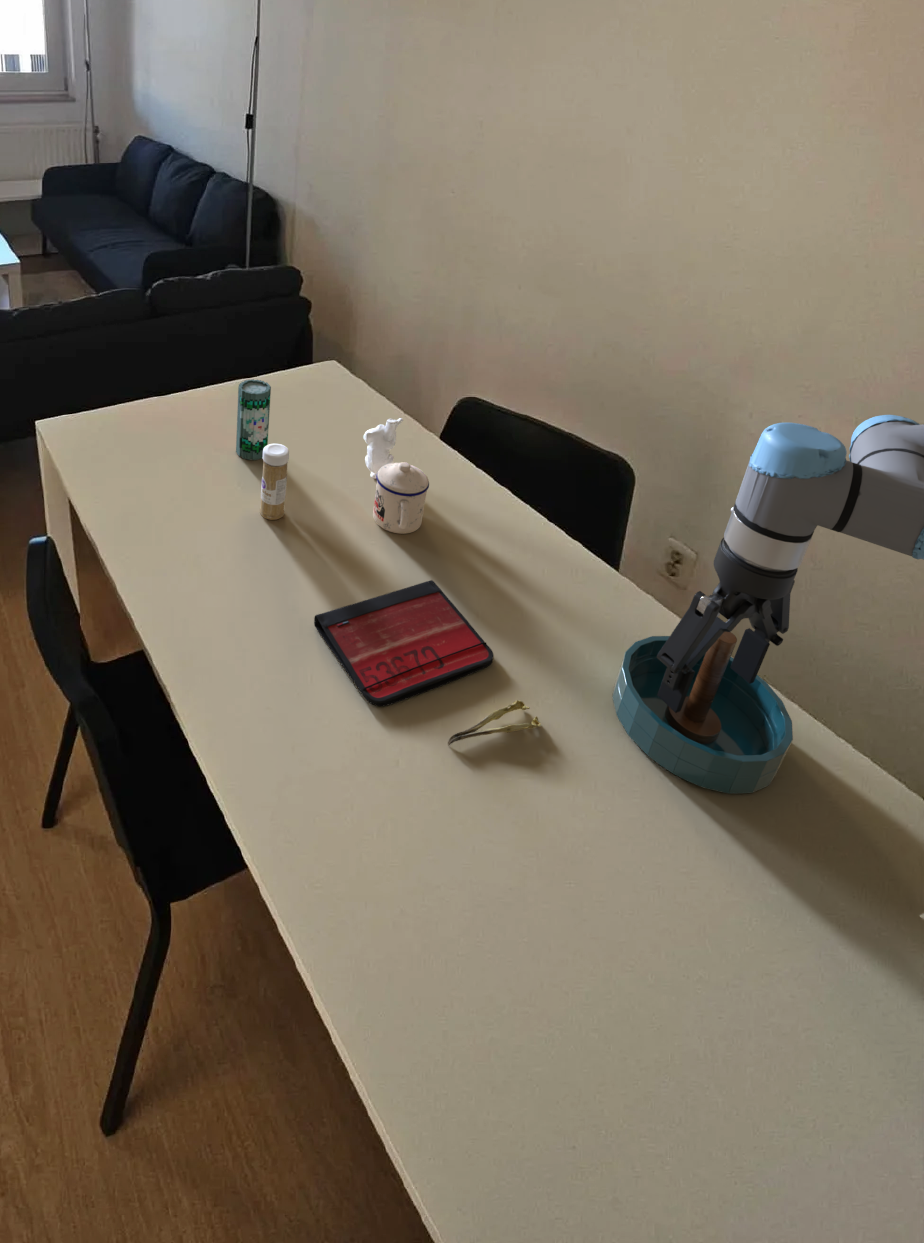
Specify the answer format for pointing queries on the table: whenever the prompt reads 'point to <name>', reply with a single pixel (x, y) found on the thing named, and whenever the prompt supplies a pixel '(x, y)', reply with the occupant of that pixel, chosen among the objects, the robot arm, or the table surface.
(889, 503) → the robot arm
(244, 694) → the table surface
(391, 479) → the teacup with lid
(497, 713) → the jaw bone
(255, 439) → the can
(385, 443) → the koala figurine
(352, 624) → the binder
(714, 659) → the plunger
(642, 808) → the table surface
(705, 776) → the bowl
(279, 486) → the sprinkles bottle
